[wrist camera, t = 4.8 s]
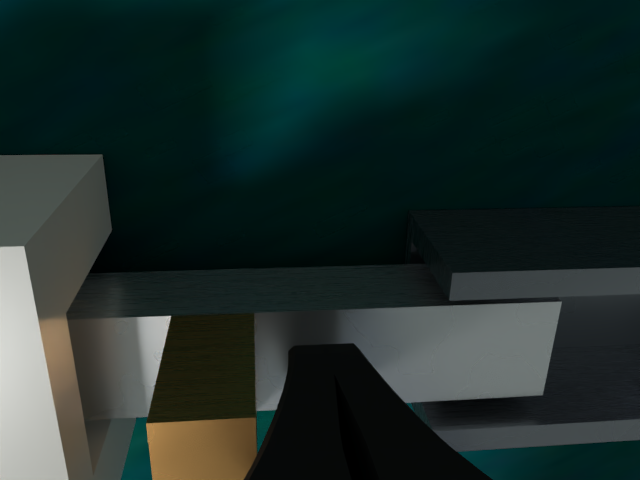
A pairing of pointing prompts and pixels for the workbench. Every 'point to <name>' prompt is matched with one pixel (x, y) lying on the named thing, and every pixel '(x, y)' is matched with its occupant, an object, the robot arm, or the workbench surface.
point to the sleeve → (572, 328)
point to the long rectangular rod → (284, 348)
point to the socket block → (50, 319)
